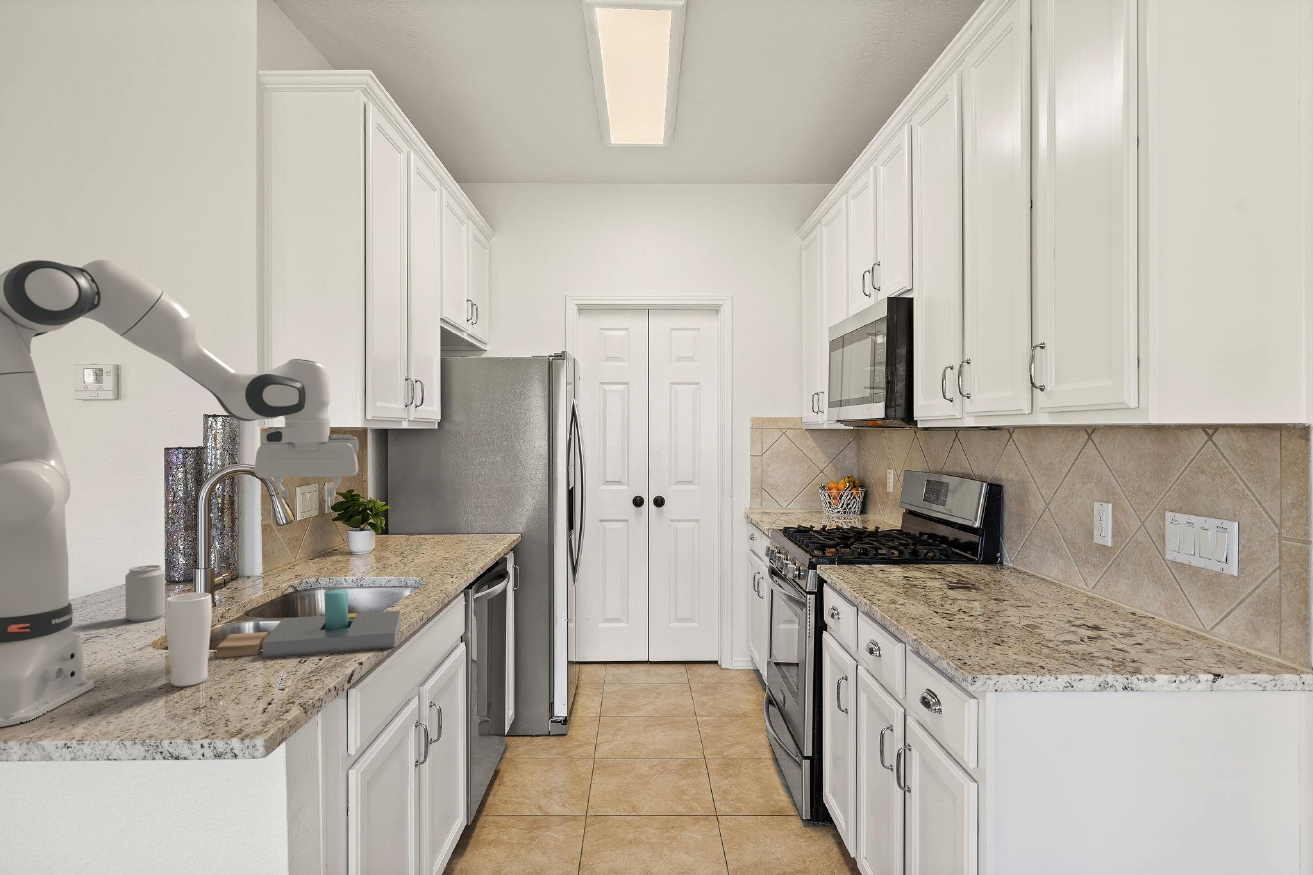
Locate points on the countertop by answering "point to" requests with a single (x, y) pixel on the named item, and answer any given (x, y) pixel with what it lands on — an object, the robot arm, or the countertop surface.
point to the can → (145, 593)
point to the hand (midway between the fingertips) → (308, 497)
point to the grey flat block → (332, 634)
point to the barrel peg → (336, 609)
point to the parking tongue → (241, 644)
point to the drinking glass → (188, 637)
